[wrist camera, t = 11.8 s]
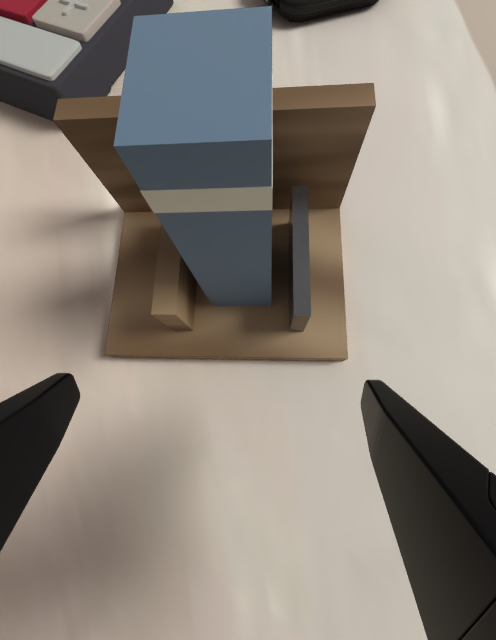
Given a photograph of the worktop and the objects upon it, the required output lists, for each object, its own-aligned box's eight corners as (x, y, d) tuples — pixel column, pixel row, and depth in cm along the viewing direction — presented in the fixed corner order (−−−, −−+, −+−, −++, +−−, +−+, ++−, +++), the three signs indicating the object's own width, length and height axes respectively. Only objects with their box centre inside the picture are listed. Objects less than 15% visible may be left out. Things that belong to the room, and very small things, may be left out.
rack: (343, 360, 18) (398, 331, 10) (112, 356, 19) (5, 327, 11) (335, 197, 21) (372, 77, 13) (133, 201, 22) (59, 93, 14)
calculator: (163, -54, 24) (46, 77, 20) (178, 15, 28) (83, 134, 24) (51, -81, 26) (-76, 34, 22) (80, -13, 30) (-22, 94, 26)
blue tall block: (271, 306, 18) (272, 140, 7) (212, 306, 18) (112, 147, 7) (271, 244, 19) (272, 5, 8) (215, 245, 19) (132, 15, 8)
